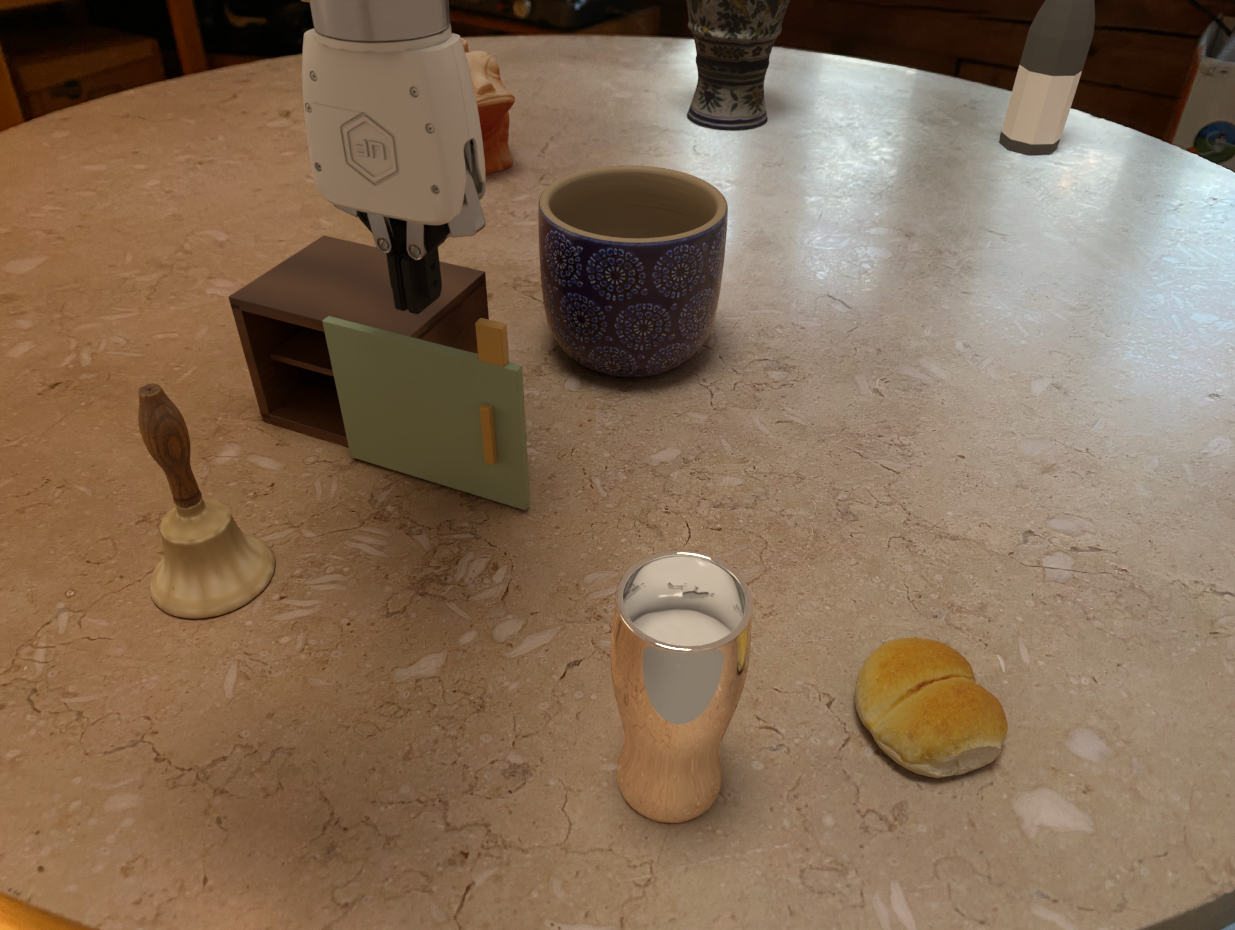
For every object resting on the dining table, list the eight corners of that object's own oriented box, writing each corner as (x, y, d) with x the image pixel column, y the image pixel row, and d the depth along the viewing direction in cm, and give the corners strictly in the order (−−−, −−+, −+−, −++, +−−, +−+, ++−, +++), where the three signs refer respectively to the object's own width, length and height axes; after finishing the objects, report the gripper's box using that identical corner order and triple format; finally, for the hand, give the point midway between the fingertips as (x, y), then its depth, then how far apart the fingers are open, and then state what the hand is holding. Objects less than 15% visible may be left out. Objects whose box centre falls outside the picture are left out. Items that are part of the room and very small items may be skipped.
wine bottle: (998, 151, 132) (1066, -94, 113) (997, 132, 138) (1062, -103, 119) (1059, 159, 130) (1138, -89, 111) (1055, 139, 136) (1130, -99, 118)
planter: (692, 411, 82) (705, 255, 73) (517, 377, 86) (507, 225, 77) (730, 320, 95) (746, 177, 85) (575, 294, 98) (573, 154, 89)
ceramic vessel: (442, 198, 117) (428, 73, 107) (373, 132, 134) (356, 20, 125) (542, 178, 122) (537, 57, 113) (463, 117, 140) (453, 8, 130)
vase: (672, 96, 149) (683, -126, 130) (781, 101, 148) (808, -122, 129) (666, 132, 136) (677, -108, 117) (785, 138, 135) (816, -103, 116)
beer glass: (603, 729, 57) (604, 550, 47) (716, 720, 57) (740, 541, 48) (615, 837, 51) (619, 660, 42) (740, 825, 52) (772, 648, 42)
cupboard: (422, 470, 75) (403, 341, 68) (262, 421, 80) (227, 296, 73) (495, 392, 84) (485, 271, 77) (346, 353, 89) (323, 235, 81)
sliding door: (522, 515, 71) (510, 336, 61) (345, 461, 76) (308, 287, 66) (530, 504, 72) (520, 326, 62) (356, 451, 77) (320, 278, 67)
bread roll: (938, 647, 62) (953, 605, 59) (1021, 761, 55) (1042, 719, 53) (825, 675, 60) (836, 633, 57) (897, 796, 53) (912, 755, 51)
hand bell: (293, 539, 69) (241, 354, 59) (247, 624, 63) (181, 433, 53) (184, 530, 70) (114, 346, 59) (128, 614, 63) (39, 423, 53)
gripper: (227, 7, 52) (292, 305, 63) (463, 39, 47) (488, 354, 58) (313, -18, 57) (359, 260, 68) (532, 8, 53) (542, 301, 64)
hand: (418, 302), depth 63 cm, fingers closed
